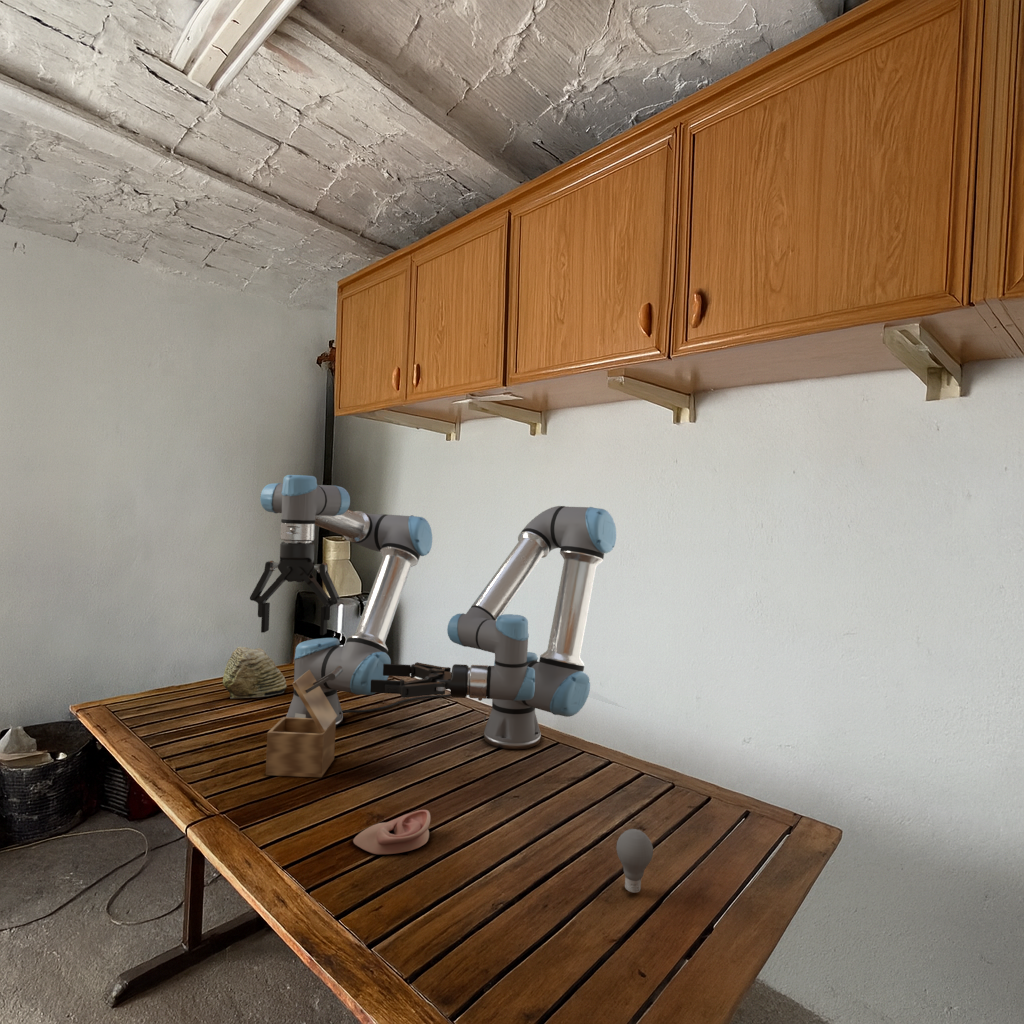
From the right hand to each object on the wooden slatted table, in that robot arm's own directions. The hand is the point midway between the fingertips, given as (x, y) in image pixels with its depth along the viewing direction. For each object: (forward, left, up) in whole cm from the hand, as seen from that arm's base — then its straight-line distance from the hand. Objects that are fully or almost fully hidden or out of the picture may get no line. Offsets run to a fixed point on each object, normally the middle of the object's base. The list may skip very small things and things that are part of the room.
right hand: (377, 677), depth 147 cm
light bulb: (-30, +60, -22) cm, 71 cm away
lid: (+13, -6, -6) cm, 16 cm away
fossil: (+23, -66, -22) cm, 73 cm away
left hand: (+18, -8, +10) cm, 22 cm away
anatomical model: (+3, +31, -22) cm, 38 cm away
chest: (+15, -7, -22) cm, 28 cm away
